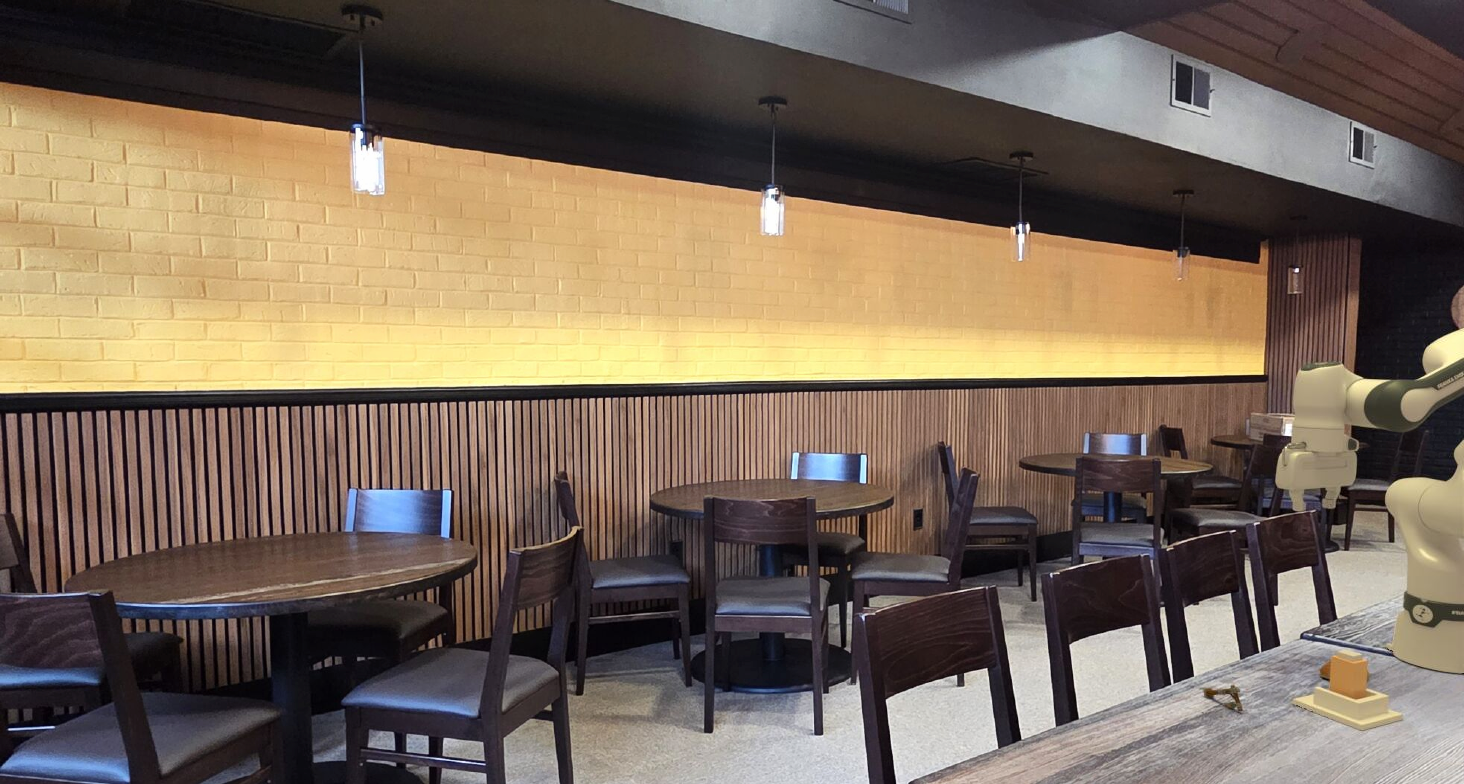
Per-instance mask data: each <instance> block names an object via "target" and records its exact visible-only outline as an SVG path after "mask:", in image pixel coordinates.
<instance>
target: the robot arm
mask: <svg viewBox="0 0 1464 784" xmlns="http://www.w3.org/2000/svg"><path fill="white" fill-rule="evenodd" d="M1422 366H1423V369H1424V372H1425V375H1424V376H1422V377H1420V378H1418V379H1371V378H1370V379H1369V378H1364V377H1362V376H1360V375H1357V374H1355V373H1353V372H1351V371H1350V370H1348V369H1347V368H1346V367H1345V366H1344V364H1343V363H1342V362H1339V361H1322V362H1321V361H1320V362H1319V361H1317V362H1311V363H1307V364H1305V365H1302V366H1301V367H1300V368H1299V370H1298V371H1297V374H1296V377H1295V381H1294V387H1293V399H1292V405H1293V410H1294V418H1293V421H1292V424H1291V442H1289V443H1287V444H1286V446H1284V448H1283V449H1282V451H1281V453H1280V454H1279V456H1278V460H1277V465H1276V471H1275V472H1276V473H1275V485H1276V487H1277V488H1278V489H1283V490H1288V495H1289V497H1290V499H1291V501H1292V510H1293V511H1295V512H1305V511H1307V508H1306V507H1307V502H1304V497H1303V495H1305V490H1311V489H1312V490H1313V489H1323V488H1325V491H1326V493H1325V497H1324V498H1322V499H1321V500H1322V504H1321V507H1322V508H1324V509H1328V510H1329V509H1335V508H1336V505H1337V503H1336V502H1337V499H1338V497H1339V496H1340V493H1341V488H1342V487H1348V486H1352V485H1353V484H1354V481H1355V480H1356V475H1357V465H1358V463H1357V462H1358V457H1357V454H1356V452H1358V450H1359V448H1360V442H1359V440H1357V439H1355V438H1353V437H1352V436H1350V435H1348V434H1346V433H1345V432H1346V431H1345V428H1346V427H1345V425H1349V426H1358V427H1363V428H1372V429H1381V430H1386V431H1390V432H1395V433H1407V432H1410V431H1413V430H1414V429H1416V428H1418V427H1419V426H1420V425H1422V424H1423V423H1424V422H1425V421H1426V420H1427V418H1429V417H1430V415H1432V414H1433V413H1434V412H1435V411H1437V410H1438V409H1439V408H1441V407H1442V406H1444V405H1446V404H1448V403H1450V402H1452V401H1454V400H1455V399H1457V398H1459V397H1461V396H1462V395H1464V327H1463V328H1460V329H1458V330H1455V331H1453V332H1451V333H1448V334H1446V335H1443V336H1442V337H1440V338H1437V339H1436V340H1434V341H1433V342H1431V343H1430V344H1429V345H1427V347H1426V348H1425V350H1424V352H1423V355H1422ZM1453 458H1454V460H1455V462H1456V464H1457V468H1456V470H1455V472H1454V474H1453V476H1452V477H1451V478H1449V479H1447V480H1446V481H1445V480H1440V479H1433V478H1429V477H1406V478H1401V479H1398V480H1396V481H1394V482H1392V484H1391V485H1390V486H1389V487H1388V488H1387V491H1386V493H1385V497H1384V499H1385V500H1384V503H1385V506H1386V509H1387V510H1388V512H1389V513H1390V514H1391V515H1392V517H1393V518H1394V519H1395V521H1396V523H1397V525H1398V528H1399V530H1400V532H1401V533H1400V534H1401V536H1402V539H1403V542H1404V547H1405V550H1406V557H1407V558H1406V559H1407V569H1406V570H1407V575H1406V576H1407V577H1406V590H1405V591H1404V593H1403V597H1402V602H1403V603H1402V608H1403V609H1404V610H1403V611H1401V612H1399V613H1397V614H1396V619H1395V625H1394V631H1393V637H1392V642H1387V643H1386V647H1387V648H1388V649H1389V650H1388V649H1387V648H1386V647H1385V648H1386V649H1387V650H1388V651H1390V650H1392V651H1393V652H1392V651H1391V652H1392V654H1393V656H1395V657H1396V658H1397V659H1399V660H1401V661H1403V662H1406V663H1409V664H1411V665H1415V666H1419V667H1422V668H1425V669H1429V670H1434V671H1438V672H1445V673H1452V674H1462V673H1464V549H1463V547H1462V544H1461V541H1460V539H1463V540H1464V439H1463V440H1462V441H1461V442H1460V443H1459V444H1458V445H1457V447H1455V449H1454V452H1453Z"/></svg>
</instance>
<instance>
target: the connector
mask: <svg viewBox="0 0 1464 784" xmlns="http://www.w3.org/2000/svg"><path fill="white" fill-rule="evenodd" d="M1363 656H1364V654H1362V653H1359V652H1356V651H1354V650H1349V649H1342V650H1337V651H1336V654H1335V655H1331V656H1330V660H1331V669H1330V679H1329V687H1328V688H1329V689H1328V690H1329V691H1332V692H1335V693H1338V694H1341V695H1343V696H1346V697H1349V698H1352V699H1355V700H1357V699H1361V698H1365V697H1366V688H1367V684H1368V680H1367V669H1368V666H1369V661H1368V660H1367V659H1364V658H1363ZM1368 670H1369V669H1368Z"/></svg>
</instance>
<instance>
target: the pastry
mask: <svg viewBox="0 0 1464 784" xmlns="http://www.w3.org/2000/svg"><path fill="white" fill-rule="evenodd" d="M1330 669H1331V659H1329V660H1328V661H1327V662H1326V663H1325V664H1323V665H1322V666H1321V668H1320V669H1319V674H1320V677H1321V678H1325V679H1328V680H1330ZM1370 678H1371V673H1370V672H1369V669H1367V681H1368V680H1370Z"/></svg>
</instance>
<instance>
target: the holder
mask: <svg viewBox="0 0 1464 784" xmlns="http://www.w3.org/2000/svg"><path fill="white" fill-rule="evenodd" d="M1389 703H1390V695H1387V694H1385V693H1382V692H1379V691H1375V690H1373V689H1370V688H1367V687H1366V697H1365V698H1361V699H1357V700H1355V699H1352V698H1349V697H1346V696H1343V695H1341V694H1338V693H1335V692H1332V691H1329V689H1326V688H1323V687H1321V686H1315V687H1314V688H1313V694H1310V695H1306V696H1300V697H1296V698H1293V699H1292V705H1293V704H1294V705H1293V706H1296V705H1298V706H1300V707H1299V708H1301V707H1302V709H1304V708H1306V709H1307V711H1310V712H1311V711H1313V712H1312V713H1315V714H1317V715H1319V714H1320V715H1319V716H1322V717H1324V716H1326V717H1325V718H1327V717H1328V719H1329V720H1332V719H1333V720H1332V721H1336V722H1337V723H1339V724H1340V723H1341V724H1343V725H1346V726H1349V727H1351V728H1354V729H1356V730H1359V731H1361V732H1362V731H1365V730H1370V729H1372V728H1376V727H1380V726H1384V725H1387V724H1388V725H1389V724H1391V723H1397V722H1399V721H1403V719H1404V718H1403V717H1404V714H1402V713H1401V712H1397V711H1395V710H1392V709H1390V708H1389ZM1298 706H1297V707H1298ZM1306 709H1305V710H1306Z"/></svg>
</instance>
